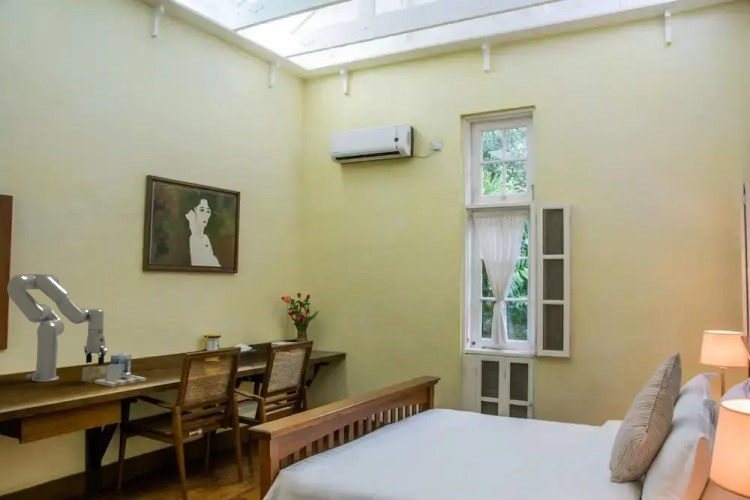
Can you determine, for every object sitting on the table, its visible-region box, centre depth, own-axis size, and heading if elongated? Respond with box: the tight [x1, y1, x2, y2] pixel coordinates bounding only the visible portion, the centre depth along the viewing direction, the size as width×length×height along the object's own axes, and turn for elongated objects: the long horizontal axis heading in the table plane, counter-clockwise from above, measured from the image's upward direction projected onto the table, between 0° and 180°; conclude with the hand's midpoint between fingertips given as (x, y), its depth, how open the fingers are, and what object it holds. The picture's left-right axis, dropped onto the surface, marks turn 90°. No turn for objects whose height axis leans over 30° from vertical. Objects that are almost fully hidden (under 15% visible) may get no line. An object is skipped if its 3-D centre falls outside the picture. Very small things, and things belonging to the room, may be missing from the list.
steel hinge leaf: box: [105, 359, 132, 382], centre depth 323 cm, size 15×6×10 cm, turn 153°
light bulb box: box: [109, 352, 132, 372], centre depth 348 cm, size 11×7×11 cm, turn 168°
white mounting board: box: [94, 374, 147, 388], centre depth 324 cm, size 22×14×2 cm, turn 153°
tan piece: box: [81, 365, 107, 383], centre depth 326 cm, size 14×6×7 cm, turn 153°
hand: (94, 363), depth 324 cm, fingers open, 9 cm apart
